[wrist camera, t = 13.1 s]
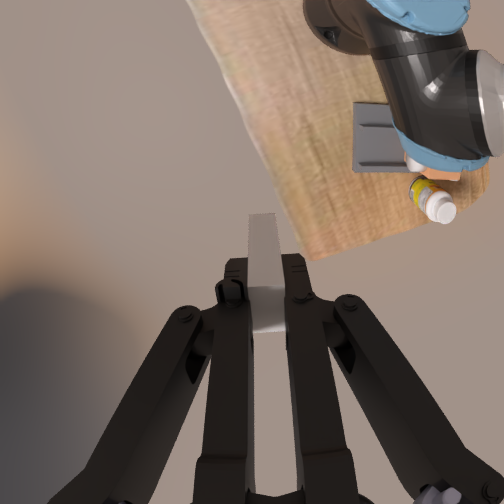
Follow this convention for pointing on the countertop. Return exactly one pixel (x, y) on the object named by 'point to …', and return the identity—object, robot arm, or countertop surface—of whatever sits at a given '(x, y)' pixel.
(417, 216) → the countertop surface
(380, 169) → the mount
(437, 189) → the supplement bottle
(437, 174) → the orange rectangular block
